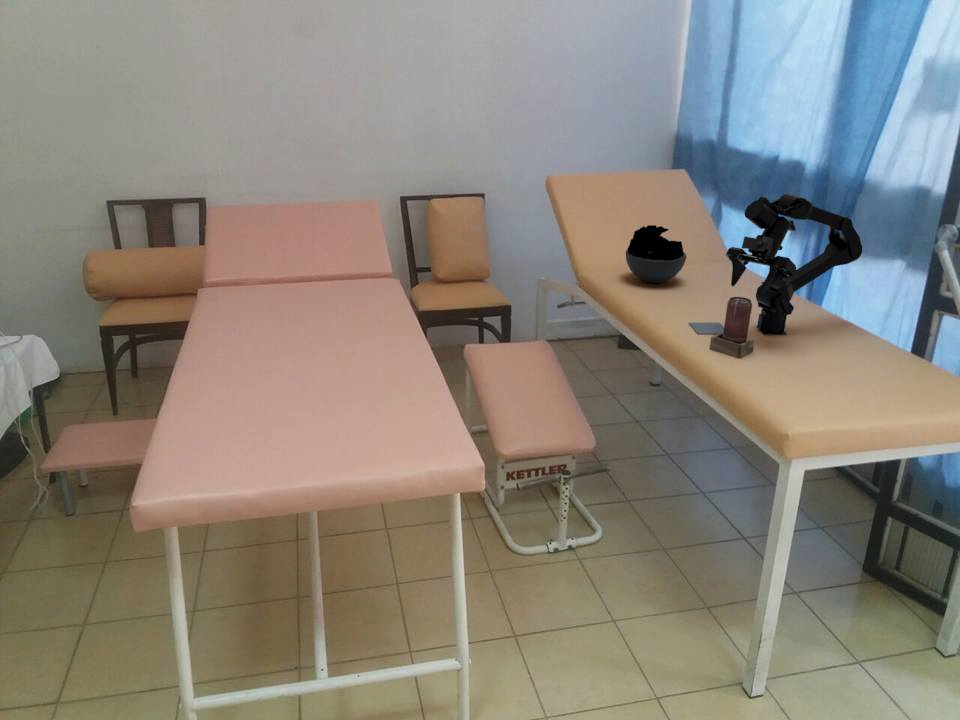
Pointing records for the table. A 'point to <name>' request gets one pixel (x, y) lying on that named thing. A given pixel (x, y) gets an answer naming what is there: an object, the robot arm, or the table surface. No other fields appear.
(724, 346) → the bracket
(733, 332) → the can
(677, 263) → the coal bowl
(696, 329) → the mat
